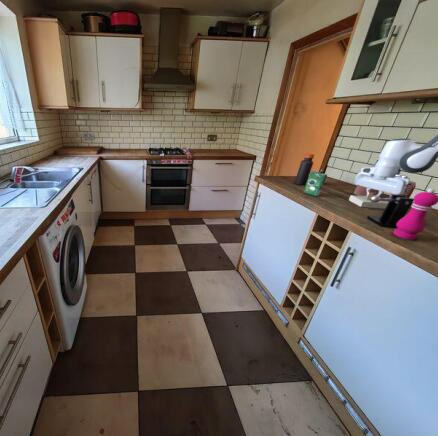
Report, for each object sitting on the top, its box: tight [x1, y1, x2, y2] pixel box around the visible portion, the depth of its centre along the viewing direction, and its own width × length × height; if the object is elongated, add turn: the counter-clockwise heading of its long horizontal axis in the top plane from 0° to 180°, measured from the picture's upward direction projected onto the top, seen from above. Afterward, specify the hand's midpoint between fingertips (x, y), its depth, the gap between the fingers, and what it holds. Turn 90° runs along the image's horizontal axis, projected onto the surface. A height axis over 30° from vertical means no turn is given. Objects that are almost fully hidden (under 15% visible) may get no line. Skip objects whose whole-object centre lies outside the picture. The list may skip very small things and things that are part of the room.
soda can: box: [388, 180, 417, 202], centre depth 121 cm, size 7×7×13 cm
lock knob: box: [367, 192, 378, 200], centre depth 121 cm, size 5×2×4 cm, turn 112°
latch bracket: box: [366, 194, 414, 229], centre depth 99 cm, size 12×9×13 cm
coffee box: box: [303, 170, 328, 197], centre depth 133 cm, size 8×3×13 cm, turn 26°
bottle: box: [294, 153, 315, 186], centre depth 151 cm, size 7×7×20 cm
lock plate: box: [348, 194, 389, 210], centre depth 122 cm, size 14×10×3 cm
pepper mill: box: [393, 187, 438, 241], centre depth 87 cm, size 7×7×20 cm
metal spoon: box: [370, 195, 404, 203], centre depth 97 cm, size 13×3×3 cm, turn 81°
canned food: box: [353, 185, 379, 196], centre depth 135 cm, size 11×11×12 cm
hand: (371, 197), depth 121 cm, fingers closed on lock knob, 2 cm apart
